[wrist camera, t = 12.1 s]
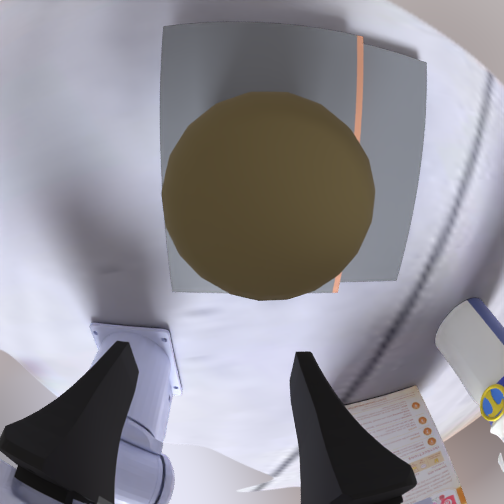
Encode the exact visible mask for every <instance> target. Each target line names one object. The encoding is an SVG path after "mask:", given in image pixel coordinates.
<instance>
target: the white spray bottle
mask: <svg viewBox="0 0 504 504" xmlns="http://www.w3.org/2000/svg"><path fill="white" fill-rule="evenodd" d="M435 345H436V347H437V348H438V350H439V351H440V352H441V354H442V355H443V356H444V357H445V359H446V360H447V362H448V363H449V364H450V366H451V367H452V369H453V370H454V371H455V373H456V374H457V376H458V377H459V379H460V381H461V382H462V384H463V385H464V387H465V389H466V390H467V392H468V393H469V395H470V396H471V398H472V399H473V401H474V402H475V403H476V404H478V405H479V406H480V411H481V414H482V416H483V417H484V418H485V419H486V420H488V421H489V422H490V424H491V430H490V432H491V433H493V434H496V435H497V436H499V437H500V439H501V440H502V441H503V443H504V327H503V326H502V325H501V324H500V323H499V321H498V320H497V319H496V318H495V316H494V315H493V314H492V313H491V311H490V310H489V309H488V308H487V306H486V305H485V304H484V303H483V302H482V300H480V299H479V298H471V299H468V300H466V301H464V302H462V303H461V304H459V305H458V306H457V307H455V308H454V309H453V310H452V311H451V312H450V313H449V314H448V315H447V317H446V318H445V319H444V320H443V322H442V323H441V325H440V327H439V329H438V331H437V333H436V337H435ZM498 463H499V464H500V467H501V469H502V470H503V472H504V462H503V459H502V454H501V453H500V455H499V458H498Z"/></svg>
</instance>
